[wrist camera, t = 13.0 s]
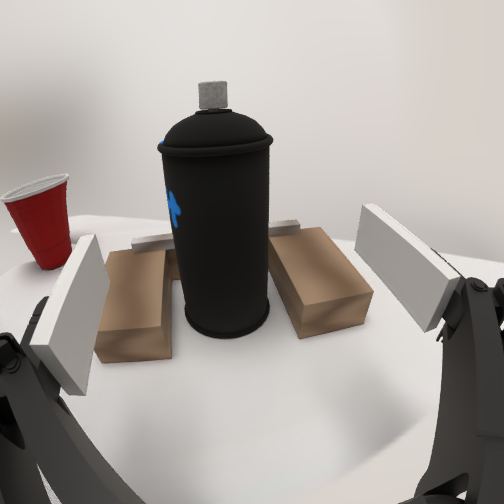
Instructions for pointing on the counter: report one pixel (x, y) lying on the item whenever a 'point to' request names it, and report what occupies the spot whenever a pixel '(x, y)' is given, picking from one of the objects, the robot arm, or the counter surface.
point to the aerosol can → (219, 214)
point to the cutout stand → (282, 271)
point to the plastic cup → (42, 219)
